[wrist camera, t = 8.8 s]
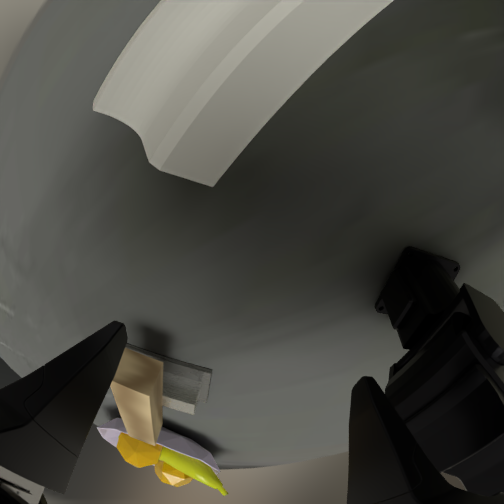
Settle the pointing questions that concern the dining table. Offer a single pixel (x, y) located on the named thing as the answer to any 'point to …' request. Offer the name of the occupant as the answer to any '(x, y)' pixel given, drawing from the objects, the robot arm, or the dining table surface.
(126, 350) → the oak batten
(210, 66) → the crown molding
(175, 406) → the fulcrum stand
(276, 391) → the dining table surface
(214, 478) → the fruit bowl
